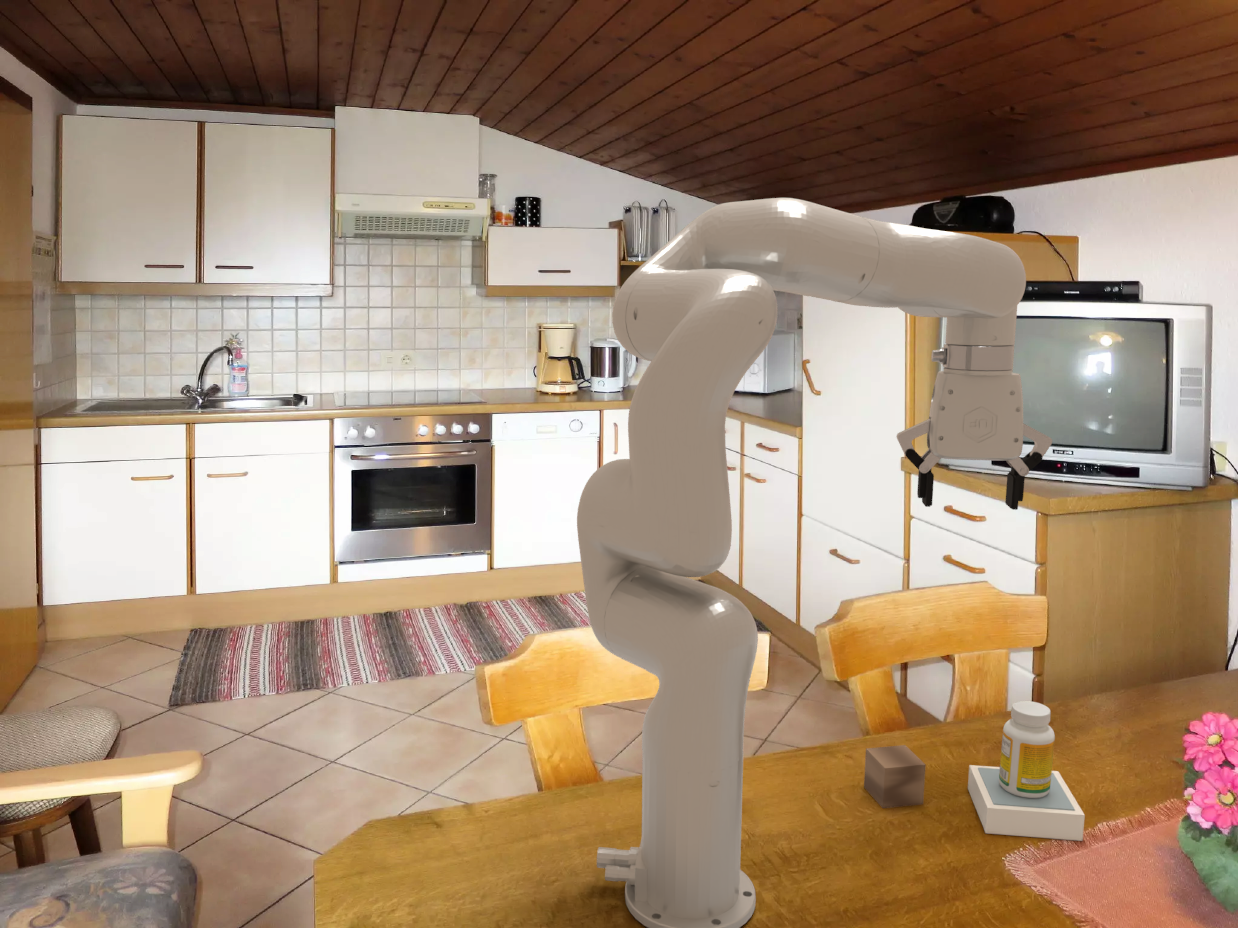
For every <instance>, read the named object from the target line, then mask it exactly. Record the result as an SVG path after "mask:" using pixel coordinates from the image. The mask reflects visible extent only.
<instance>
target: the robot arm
mask: <svg viewBox="0 0 1238 928" xmlns="http://www.w3.org/2000/svg"><path fill="white" fill-rule="evenodd" d="M658 249H659V248H658ZM1021 259H1022V258H1020V256H1019V254H1017V253H1016V252H1015V250H1014V249H1012V248H1010V247H1009V246H1007V245H1006V244H1003V243H1000V242H998V241H993V240H990V239H988V238H984V237H980V236H976V235H972V234H968V233H966V234H965V233H961V232H955V231H954V232H953V231H945V230H939V229H931V228H924V227H920V226H919V227H918V226H914V225H909V224H903V223H897V222H890V221H889V222H888V221H881V220H876V219H872V218H868V217H864V216H860V215H857V214H853V213H850V212H847V211H843V210H839V209H835V208H832V207H828V206H825V205H823V204H822V205H821V204H818V203H815V202H812V201H808V200H804V199H799V198H793V197H776V198H775V197H772V198H771V197H770V198H763V199H762V198H761V199H754V200H753V199H750V200H742V201H741V200H739V201H730V202H723V203H719V204H717V205H715V206H713V207H711V208H709V209H707V210H705V211H704V212H702V213H701V214H700V215H698V216H697V217H696V218H694V219H693V220H692V221H691V222H689V223H688V224H687V225H685V227H684V228H682V229H681V230H680V231H678V232H677V233H676V234H675V235H674V236H673V237H672V238H671V239H669V241H667V243H665V244H664V245H663V246H661V247H660V249H659V250H657V251H656V252H655V253H654V254H653V255H651V256H650V257H649V258H648V259H647V260H646V261H644V262H643V263H642V264H641V265H640V266H639V267H638V268H636V269H635V270H634V271H633V272H632V273H631V275H630V276H628V278H627V279H626V280H625V281H624V283H623V284H622V286H621V287H620V289H619V291H618V292H617V294H616V297H615V300H614V302H613V306H612V313H611V319H612V320H611V321H612V327H613V331H614V334H615V337H616V339H617V341H618V342H619V343H620V345H621V346H622V348H624V349H625V350H626V351H627V352H628V353H629V354H631V355H632V356H634V357H636V358H638V359H641V360H644V361H649V362H650V363H649V364H648V366H647V367H646V369H645V370H644V373H643V374H642V375H641V378H640V380H639V381H638V383H637V386H636V388H635V389H634V392H633V395H632V398H631V400H630V401H631V402H630V406H629V410H628V418H627V419H628V420H627V435H628V455H629V456H628V457H629V458H620V459H619V458H618V459H615V460H612V461H609V462H606V463H605V464H603V465H601V466H599V468H597V469H596V470H595V471H594V472H593V473H592V474H591V476H590V477H589V479H588V480H587V481H586V483H585V485H584V487H583V489H582V492H581V495H580V499H579V502H578V507H577V514H576V527H577V529H576V530H577V538H578V539H577V541H578V547H579V554H580V555H579V556H580V563H581V571H582V572H581V573H582V578H583V585H584V593H585V601H586V608H587V609H586V610H587V614H588V615H587V616H588V618H589V623H590V626H591V629H592V632H593V634H594V636H595V638H596V640H597V641H598V642H599V644H600V645H601V646H602V647H603V648H604V649H605V650H606V651H607V652H609V653H610V654H612V655H614V656H616V657H618V658H620V659H621V660H624V661H626V662H628V663H630V664H632V665H634V666H637V667H639V668H641V669H643V670H645V671H646V672H648V673H650V674H652V675H654V676H655V677H657V679H658V682H659V683H658V684H659V685H658V690H657V692H656V694H655V695H654V698H653V699H652V701H651V703H650V704H649V706H648V708H647V710H646V712H645V714H644V718H643V723H642V730H641V731H642V733H641V751H642V755H641V756H642V762H641V764H642V765H641V766H642V767H641V768H642V772H641V777H642V778H641V784H642V785H641V787H642V788H641V839H640V843H639V847H637V846H630V848H629V849H617V848H615V847H603V846H598V848H597V852H596V854H597V855H596V868H599V869H605V871H604V880H605V881H610V882H625V888H624V899H625V905H626V907H627V909H628V911H629V913H630V914H631V915H632V917H634V919H635V920H636V921H638V922H639V923H640V924H642V925H643V926H645V928H741V927H742V926H743V925H745V924H746V923H747V922H748V921H749V920H750V919H751V918H752V915H753V914H754V911H755V910H756V901H757V897H756V894H757V893H756V888H755V886H754V883H753V881H752V880H751V879H750V877H749V876H748V875H747V874H746V873H745V872H744V871H743V869H741V854H742V853H741V851H742V848H741V847H742V819H743V815H742V814H743V786H744V784H743V781H744V780H743V778H744V777H743V776H744V774H743V773H744V739H745V737H744V736H745V735H744V734H745V732H744V731H745V717H746V706H747V697H748V692H749V691H748V690H749V686H750V681H751V676H752V672H753V668H754V665H755V661H756V656H757V650H758V644H759V642H758V641H759V634H758V628H757V623H756V621H755V618H754V617H753V615H752V613H751V611H750V610H749V608H748V607H747V606H746V605H745V604H744V603H743V602H742V601H741V600H740V599H738V598H737V597H736V596H734V595H732V594H731V593H729V592H727V591H726V590H723V589H721V588H719V587H717V586H714V585H711V584H707V583H705V582H701V581H700V580H696V579H693V578H699V577H700V578H701V577H705V576H708V575H710V574H712V573H715V572H716V571H717V570H719V569H720V567H722V565H723V564H724V563H725V562H726V560H727V559H728V556H729V553H730V550H731V546H732V534H733V533H732V532H733V528H732V527H733V526H732V525H733V524H732V522H733V520H732V519H733V518H732V509H731V508H732V506H731V497H730V495H731V494H730V484H729V473H728V461H727V452H726V450H727V449H726V421H727V420H726V418H727V412H728V410H729V405H730V402H731V401H732V397H733V395H734V393H735V391H736V389H737V387H738V386H739V384H740V382H741V380H742V379H743V378H744V376H745V375H746V373H747V372H748V371H749V369H750V368H751V367H752V365H753V364H754V363H755V362H756V360H757V359H759V357H760V356H761V355H762V353H763V352H764V350H765V349H766V348H767V346H768V345H769V343H770V341H771V339H772V336H773V335H774V332H775V329H776V326H777V319H778V301H777V297H776V291H777V292H781V293H782V292H784V293H789V294H794V295H800V296H805V297H811V298H816V299H821V300H827V301H832V302H835V303H841V304H846V305H851V306H860V307H869V308H870V307H871V308H896V309H897V308H898V309H899V310H900V311H902V312H904V313H906V314H908V315H910V316H914V317H920V318H921V317H922V318H946V325H945V326H946V327H945V330H946V331H945V344H943V347H942V348H938V349H933V350H931V357H930V358H931V360H930V361H931V362H937V363H938V364H941V365H942V367H943V370H939V371H938V372H937V374H936V376H935V381H934V385H933V389H932V394H931V402H930V408H929V415H928V419H926V420H923V421H921V422H919V423H917V424H915V425H913V426H911V427H907V428H906V429H904V430H901V431H900V432H897V434H896V439H897V441H898V444H899V446H900V448H901V450H902V452H903V454H904V456H905V457H906V459H908V460H909V461H910V463H912V464H913V466H914V467H916V469H918V475H917V477H918V478H917V491H916V492H917V498H918V499H921V502H922V504H923V505H924V506H925V507H929V508H930V507H931V506H933V495H934V494H933V493H934V480H935V479H934V477H935V475H934V473H933V472H932V468H933V467H934V466H936V464H937V463H938V462H939V461H940V460H941V459H943V460H958V461H959V460H960V461H961V460H962V461H963V460H964V461H995V462H996V461H998V462H999V461H1002V462H1003V461H1006V463H1007V464H1008V465H1009V466H1010V467H1011V468H1010V471H1008V472H1007V476H1006V488H1005V490H1006V491H1005V502H1004V503H1005V505H1006V506H1007V507H1008V508H1009V509H1011V510H1015V511H1016V510H1018V509H1019V502H1023V501H1024V493H1025V477H1026V476H1028V475H1029V473H1030V471H1032V469H1034V468H1035V467H1036V466H1037V465H1038V464H1039V463H1041V462H1042V461H1043V458H1044V456H1045V455H1046V453H1047V452H1048V450H1049V448H1050V447H1051V446H1052V443H1053V439H1052V437H1050V436H1048V435H1046V434H1045V433H1043V432H1040V431H1039V430H1037V429H1035V428H1033V427H1031V426H1029V425H1028V424H1025V423H1024V397H1023V395H1024V394H1023V386H1022V378H1021V374H1020V373H1017V372H1013V370H1014V358H1015V357H1014V356H1015V342H1016V329H1017V328H1016V327H1017V316H1018V315H1017V313H1018V305H1019V304H1020V302H1021V300H1022V299H1023V296H1024V294H1025V290H1026V286H1027V273H1026V270H1025V266H1024V263H1023V261H1022V260H1021ZM923 435H926V446H927V448H928V449H927V450H926V451H925V452H924V453H923V455H920V454H919V453H918V452H917V451H916V450H915V448H914V446H913V444H912V443H913V441H914V439H917V438H919V437H921V436H923ZM1024 437H1025V438H1027V439H1029V440H1031V441H1033V442H1034V445H1033V447H1032V449H1031V451H1029V452H1028V453H1027V454H1026V455H1025V456H1023V457H1020V456H1021V455H1022V452H1023V446H1024Z"/></svg>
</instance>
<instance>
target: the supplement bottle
mask: <svg viewBox="0 0 1238 928" xmlns="http://www.w3.org/2000/svg"><path fill="white" fill-rule="evenodd" d="M1051 714H1052V713H1051V709H1050V708H1049V707H1048V706H1046V705H1045V704H1043V703H1040V702H1037V701H1029V700H1019V701H1015V702H1013V703H1012V704H1011V712H1010V716H1011V718H1010V719H1008V720H1007V721H1006V722H1005V723H1004V726H1003V729H1002V737H1001V740H1002V741H1001V749H1000V750H1001V751H1000V761H999V762H1000V763H999V767H1000V771H999V783H1000V785H1001V786H1002V788H1003V789H1004V790H1006V791H1007V792H1009V793H1011V794H1014V795H1016V796H1020V797H1026V798H1041V797H1044V796H1046V795H1047V794H1048V793H1049V791H1050V784H1051V774H1052V771H1053V761H1054V750H1055V740H1056V736H1055V732H1054V729H1053V728H1052V726H1050V725H1049V723H1050V722H1051Z"/></svg>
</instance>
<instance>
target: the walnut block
mask: <svg viewBox="0 0 1238 928" xmlns="http://www.w3.org/2000/svg"><path fill="white" fill-rule="evenodd" d="M864 758H865V760H864V777H863V778H864V779H863V782H864V783H863V787H864V789H865V790H866V792H868V793H869V795H870V796H871V797H872V798H873V799H874V800H875V802H877V804H878V805H879V806H880V807H881V808H882V809H888V808H899V807H908V806H910V807H911V806H918V805H919V806H920V805H924V795H925V779H926V764H925V762H923V760H922V759H920V758H919V757H918V756H917V755H916V754H915V753H914V751H912V749H910V748H909V747H908V746H906V745H905V744H904V745H903V744H901V745H893V746H890V745H889V746H880V747H878V746H877V747H870V748H869V747H868V748H865V757H864Z"/></svg>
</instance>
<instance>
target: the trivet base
mask: <svg viewBox="0 0 1238 928" xmlns="http://www.w3.org/2000/svg"><path fill="white" fill-rule="evenodd" d="M999 771H1000V766H986V765H974V764H973V765H972V764H969V766H968V778H967V779H968V782H967V790H968V792H969V795H970V797H971V801H972V802H973V806H974V808H975V810H976V812H977V815H978V818H979V820H980V823H981V825H982V827H983V830H984V833H985V834H992V835H1003V836H1004V835H1006V836H1013V837H1014V836H1016V837H1027V838H1030V837H1031V838H1039V839H1040V838H1042V839H1054V840H1067V841H1079V842H1083V841H1084V839H1083V838H1084V828H1085V820H1086V817H1085V813H1084V811H1083V810H1082V808H1081V806H1080V804H1079V803H1078V802H1077V800H1076V798H1075V796H1074V795H1073V794H1072V791H1071V790H1070V788H1069V787H1068V785H1067V783H1066V782H1065V780H1064V778H1063V776H1062V775H1061V773H1060V772H1059V771H1057V770H1052V774H1051V784H1050V791H1049V793H1048V794H1047V795H1046V796H1044V797H1041V798H1026V797H1020V796H1016V795H1014V794H1011V793H1009V792H1007V791H1006V790H1004V789H1003V788H1002V786H1001V785H1000V783H999Z"/></svg>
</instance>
